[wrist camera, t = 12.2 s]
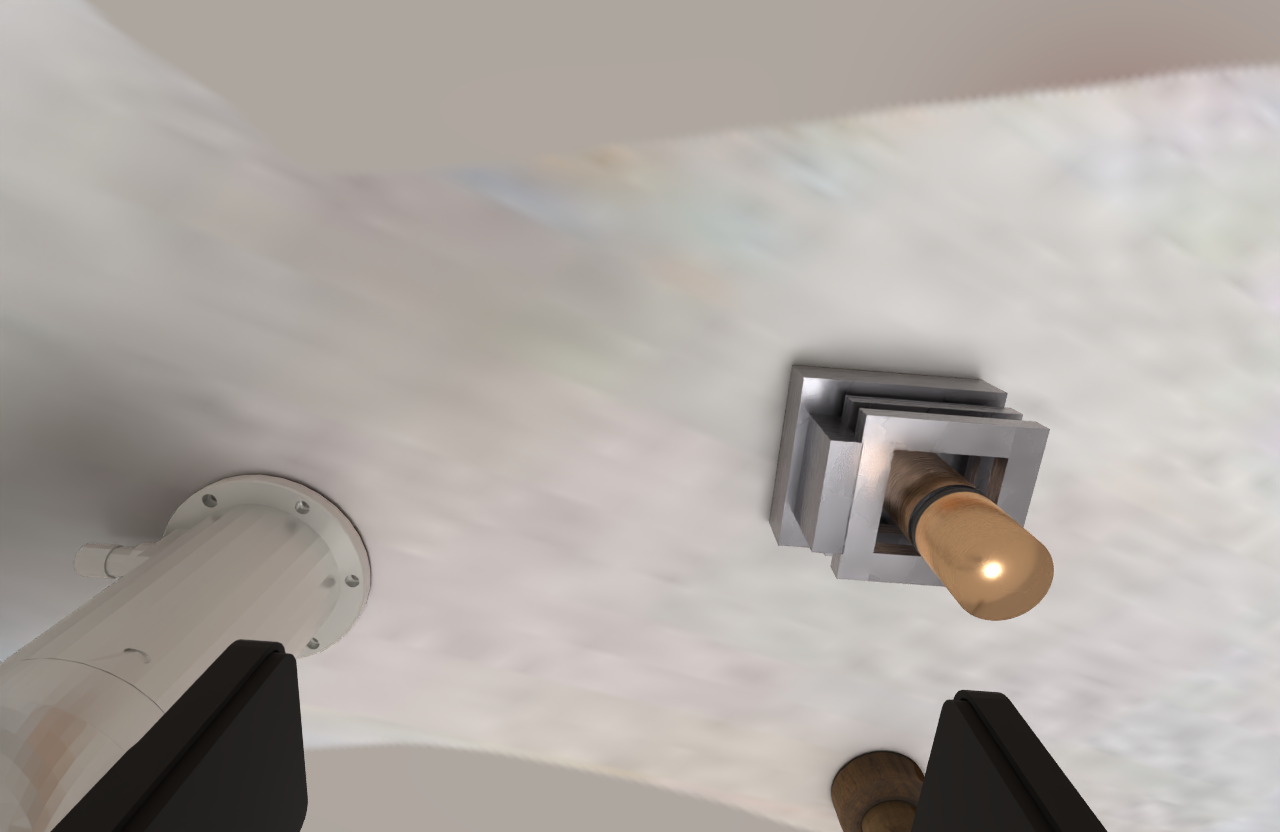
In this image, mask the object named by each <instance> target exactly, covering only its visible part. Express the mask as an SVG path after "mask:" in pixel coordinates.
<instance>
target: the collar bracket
mask: <svg viewBox="0 0 1280 832" xmlns="http://www.w3.org/2000/svg"><path fill="white" fill-rule="evenodd" d="M1007 394H1008V393H1006V392H1004V391H1002V390H1000V389H998V388H996V387H994V386H992V385H991V384H989V383H987V382H985V381H983V380H979V379H966V378H953V377H941V376H928V375H915V374H902V373H889V372H876V371H864V370H851V369H838V368H825V367H812V366H800V365H792V371H791V378H790V384H789V391H788V398H787V405H786V411H785V418H784V425H783V432H782V439H781V445H780V452H779V459H778V466H777V472H776V479H775V486H774V493H773V500H772V506H771V513H770V520H769V523H770V526H771V528H772V531H773V533H774V536H775V538H776V541H777V543H778V545H780V546H794V547H808V548H810V549H811V551H812V552H816V553H824V555H825V556H833V557H832V562H831V568H832V570H833V572H834V574H835V576H836V578H837V579H848V580H862V581H875V582H889V583H903V584H917V585H930V586H944V587H945V585H944V584H943V583H942V582H941V580H940V579H939V578H938V576H937V575H936V574H935V573H934V571H933V570H932V569H931V568H930V566H929V565H928V564H927V563H926V561H925V560H924V559H923V558H922V557H921V556H920V554H919V553H918V552H917V551H916V549H915V548H914V546H913V545H912V544H911V542H910V541H909V540H908V539H907V537H906V536H905V535H904V533H903V532H902V531H901V530H900V528H899V527H898V526H897V525H896V523H895V522H894V521H893V520H892V518H891V517H890V516H889V515H888V513H887V512H886V511H885V509H884V508H883V502H884V497H885V492H886V487H887V482H888V477H889V472H890V467H891V462H892V457H893V452H894V449H896V450H909V451H922V452H934V453H936V454H937V455H938V456H939V457H940V458H942V459H943V460H944V461H945V462H946V463H947V464H949V465H950V466H951V467H952V468H953V469H954V470H956V471H957V472H958V473H959V474H960V475H962V476H963V477H964V478H965V479H966V480H967V481H969V482H970V483H971V484H972V485H973V486H975V487H976V488H977V489H978V490H979V491H981V492H982V493H983V494H985V495H986V496H987V497H988V498H989V499H991V500H992V501H993V502H994V503H995V504H996V505H997V506H998V507H999V508H1001V509H1002V510H1003V511H1004V512H1005V513H1006V514H1008V515H1009V516H1010V517H1011V518H1012V519H1014V520H1015V521H1016V522H1017V523H1018V524H1019V525H1021V526H1022V527H1024V523H1025V519H1026V516H1027V512H1028V508H1029V505H1030V501H1031V497H1032V494H1033V490H1034V486H1035V482H1036V479H1037V475H1038V471H1039V468H1040V464H1041V460H1042V456H1043V453H1044V449H1045V445H1046V442H1047V438H1048V434H1049V430H1050V429H1048V428H1047V427H1045V426H1043V425H1041V424H1039V423H1037V422H1034V421H1021V420H1022V416H1023V414H1021V413H1019V412H1017V411H1015V410H1014V409H1012V408H1005V407H1004V406H1005V402H1006V398H1007Z"/></svg>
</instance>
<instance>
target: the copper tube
mask: <svg viewBox="0 0 1280 832" xmlns="http://www.w3.org/2000/svg"><path fill="white" fill-rule="evenodd" d="M883 508H884V509H885V511H886V512H887V513H888V515H889V516H890V517H891V518H892V520H893V521H894V522H895V523H896V525H897V526H898V527H899V528H900V530H901V531H902V532H903V533H904V535H905V536H906V537H907V539H908V540H909V541H910V542H911V544H912V545H913V546H914V548H915V549H916V551H917V552H918V553H919V554H920V556H921V557H922V558H923V559H924V560H925V561H926V563H927V564H928V565H929V566H930V568H931V569H932V570H933V571H934V573H935V574H936V575H937V576H938V578H939V579H940V580H941V582H942V583H943V584H944V585H945V587H946V588H947V589H948V590H949V592H950V593H951V594H952V595H953V597H954V598H955V599H956V600H957V602H958V603H959V604H960V606H961V607H962V608H963V609H964V610H966V611H967V612H968V613H970V614H971V615H973V616H975V617H978V618H981V619H985V620H992V621H999V620H1007V619H1011V618H1014V617H1017V616H1020V615H1022V614H1024V613H1026V612H1028V611H1029V610H1031V609H1032V608H1033V607H1035V606H1036V605H1037V604H1038V603H1039V602H1040V601H1041V600H1042V599H1043V598H1044V596H1045V595H1046V593H1047V592H1048V590H1049V588H1050V586H1051V583H1052V579H1053V573H1054V567H1053V561H1052V558H1051V555H1050V553H1049V552H1048V550H1047V548H1046V547H1045V546H1044V545H1043V544H1042V543H1041V542H1039V541H1038V540H1037V539H1036V538H1035V537H1034V536H1032V535H1031V534H1030V533H1029V532H1028V531H1026V530H1025V529H1024V528H1023V527H1022V526H1021V525H1019V524H1018V523H1017V522H1016V521H1015V520H1014V519H1012V518H1011V517H1010V516H1009V515H1008V514H1006V513H1005V512H1004V511H1003V510H1002V509H1001V508H999V507H998V506H997V505H996V504H995V503H994V502H993V501H992V500H991V499H989V498H988V497H987V496H986V495H985V494H983V493H982V492H981V491H979V490H978V489H977V488H976V487H975V486H973V485H972V484H971V483H970V482H969V481H967V480H966V479H965V478H964V477H963V476H962V475H960V474H959V473H958V472H957V471H956V470H954V469H953V468H952V467H951V466H950V465H949V464H947V463H946V462H945V461H944V460H943V459H942V458H940V457H939V456H938V455H937V454H936V453H934V452H922V451H909V450H896V449H894V452H893V457H892V462H891V467H890V472H889V477H888V482H887V487H886V492H885V497H884V502H883Z"/></svg>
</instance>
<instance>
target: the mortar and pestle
mask: <svg viewBox="0 0 1280 832" xmlns="http://www.w3.org/2000/svg"><path fill="white" fill-rule="evenodd" d="M923 781H924V775H923V773H922V771H921V769H920V768H919V767H918V765H917V764H916V763H915V762H913V761H912V760H911V759H909V758H907V757H905V756H903V755H900V754H896V753H891V752H875V753H870V754H866V755H863V756H860V757H858V758H856V759H854V760H853V761H851V762H850V763H849V764H848V765H847V766H846V767H845V768H843V769H842V770H841V771H840V772H839V773H838V775H837V776H836V778H835V780H834V783H833V786H832V801H833V805H834V808H835V810H836V813H837V816H838V819H839V822H840V825H841V827H842V829H843V831H844V832H911V829H912V825H913V821H914V817H915V813H916V809H917V805H918V801H919V797H920V793H921V789H922V785H923Z"/></svg>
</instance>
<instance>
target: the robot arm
mask: <svg viewBox="0 0 1280 832" xmlns="http://www.w3.org/2000/svg"><path fill="white" fill-rule="evenodd" d="M74 570H75V571H76V573H77V574H78V575H81V576H87V577H101V578H115V577H122V578H120V579H119V580H118V581H116V582H115V583H113V584H112V585H110V586H109V587H108V588H106V589H105V590H103V591H102V592H101V593H99V594H98V595H96V596H95V597H93V598H92V599H91V600H89V601H88V602H86V603H85V604H84V605H82V606H81V607H79V608H78V609H77V610H75V611H74V612H72V613H71V614H69V615H68V616H67V617H65V618H64V619H62V620H61V621H60V622H58V623H57V624H55V625H54V626H52V627H51V628H50V629H48V630H47V631H45V632H44V633H43V634H41V635H40V636H38V637H37V638H35V639H34V640H33V641H31V642H30V643H28V644H27V645H26V646H24V647H23V648H21V649H20V650H18V651H17V652H16V653H14V654H13V655H11V656H10V657H9V658H7V659H6V660H4V661H3V662H2V663H0V832H300V830H301V828H302V825H303V822H304V820H305V816H306V812H307V805H308V796H307V785H306V773H305V761H304V749H303V737H302V725H301V713H300V701H299V689H298V677H297V665H296V659H297V658H302V657H308V656H310V655H313V654H316V653H318V652H321V651H324V650H325V649H327V648H329V647H330V646H332V645H333V644H335V643H337V642H338V641H339V640H340V639H341V638H342V637H343V636H344V635H345V634H346V633H347V632H348V631H349V630H350V629H351V628H352V626H353V625H354V624H355V622H356V621H357V619H358V618H359V616H360V614H361V612H362V610H363V608H364V606H365V604H366V602H367V598H368V594H369V590H370V566H369V561H368V556H367V552H366V550H365V548H364V545H363V543H362V541H361V538H360V536H359V535H358V533H357V532H356V530H355V529H354V527H353V526H352V524H351V522H350V521H349V520H348V519H347V518H346V517H345V516H344V515H343V513H342V512H341V511H340V510H339V509H338V508H337V507H336V506H335V505H333V504H332V503H331V502H329V501H328V500H327V499H325V498H324V497H323V496H321V495H320V494H318V493H317V492H315V491H313V490H311V489H309V488H307V487H305V486H303V485H301V484H298V483H295V482H292V481H289V480H287V479H284V478H279V477H273V476H267V475H240V476H235V477H230V478H225V479H222V480H220V481H217V482H215V483H212V484H210V485H208V486H206V487H204V488H203V489H201V490H200V491H198V492H197V493H195V494H193V495H192V496H190V497H189V498H188V499H187V500H186V501H185V502H184V503H182V504H181V505H180V506H179V507H178V508H177V510H176V511H175V513H174V514H173V516H172V517H171V518H170V520H169V521H168V524H167V527H166V529H165V532H164V534H163V537H162V539H161V540H160V541H158V542H157V543H152V542H144V543H141V544H139V545H138V546H137V547H136V548H132V547H124V546H122V545H108V544H94V543H87V544H86V545H84V546H82V547H81V548H80V550H79V551H78V552H77V554H76V556H75V560H74ZM911 832H1107V830H1106V829H1105V828H1104V826H1103V825H1102V824H1101V822H1100V821H1099V820H1098V818H1097V817H1096V816H1095V814H1094V813H1093V812H1092V810H1091V809H1090V808H1089V806H1088V805H1087V803H1086V802H1085V801H1084V799H1083V798H1082V797H1081V795H1080V794H1079V793H1078V791H1077V790H1076V789H1075V787H1074V786H1073V785H1072V783H1071V782H1070V781H1069V779H1068V778H1067V777H1066V775H1065V774H1064V773H1063V771H1062V770H1061V768H1060V767H1059V766H1058V764H1057V763H1056V762H1055V760H1054V759H1053V758H1052V756H1051V755H1050V754H1049V752H1048V751H1047V750H1046V748H1045V747H1044V746H1043V744H1042V743H1041V742H1040V740H1039V739H1038V738H1037V736H1036V735H1035V733H1034V732H1033V731H1032V729H1031V728H1030V727H1029V725H1028V724H1027V723H1026V721H1025V720H1024V719H1023V717H1022V716H1021V715H1020V713H1019V712H1018V711H1017V709H1016V708H1015V707H1014V705H1013V704H1012V702H1011V701H1010V700H1009V699H1008V698H1007V697H1006V696H1005V695H1004V694H1002V693H999V692H986V691H971V690H961V691H958V692H957V693H956V695H955V697H954V699H953V700H946V701H945V702H944V704H943V707H942V710H941V714H940V718H939V722H938V726H937V730H936V734H935V738H934V742H933V746H932V750H931V754H930V758H929V761H928V765H927V769H926V773H925V777H924V781H923V785H922V789H921V793H920V797H919V801H918V805H917V809H916V813H915V817H914V821H913V825H912V829H911Z"/></svg>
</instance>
